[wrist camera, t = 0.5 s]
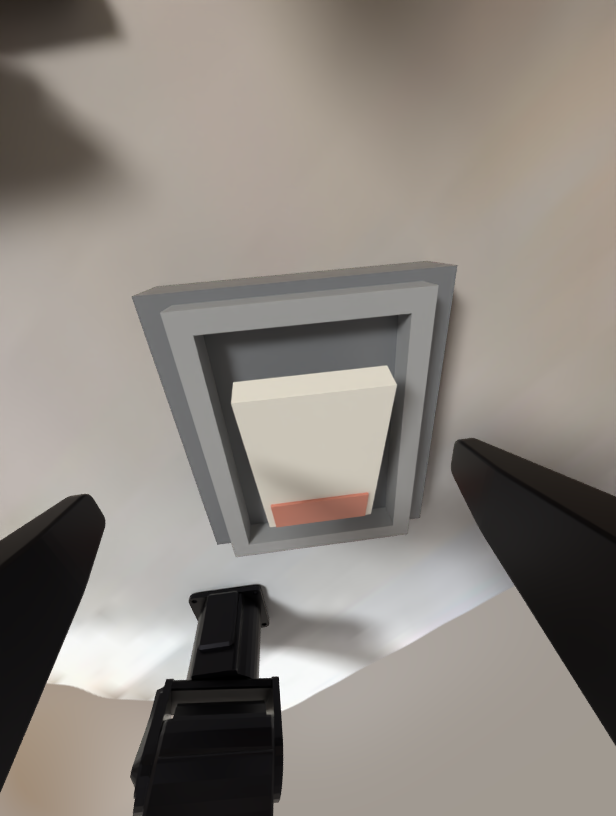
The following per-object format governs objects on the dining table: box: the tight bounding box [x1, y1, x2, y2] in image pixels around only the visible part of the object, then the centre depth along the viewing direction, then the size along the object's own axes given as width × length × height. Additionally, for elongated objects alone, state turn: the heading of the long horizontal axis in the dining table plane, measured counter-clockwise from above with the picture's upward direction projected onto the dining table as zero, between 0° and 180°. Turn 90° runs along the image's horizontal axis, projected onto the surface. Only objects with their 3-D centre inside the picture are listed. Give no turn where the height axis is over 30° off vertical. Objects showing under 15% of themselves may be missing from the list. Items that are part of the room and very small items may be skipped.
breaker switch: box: [231, 366, 397, 527], centre depth 15 cm, size 10×6×1 cm, turn 4°
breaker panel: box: [132, 261, 457, 557], centre depth 18 cm, size 16×14×4 cm
